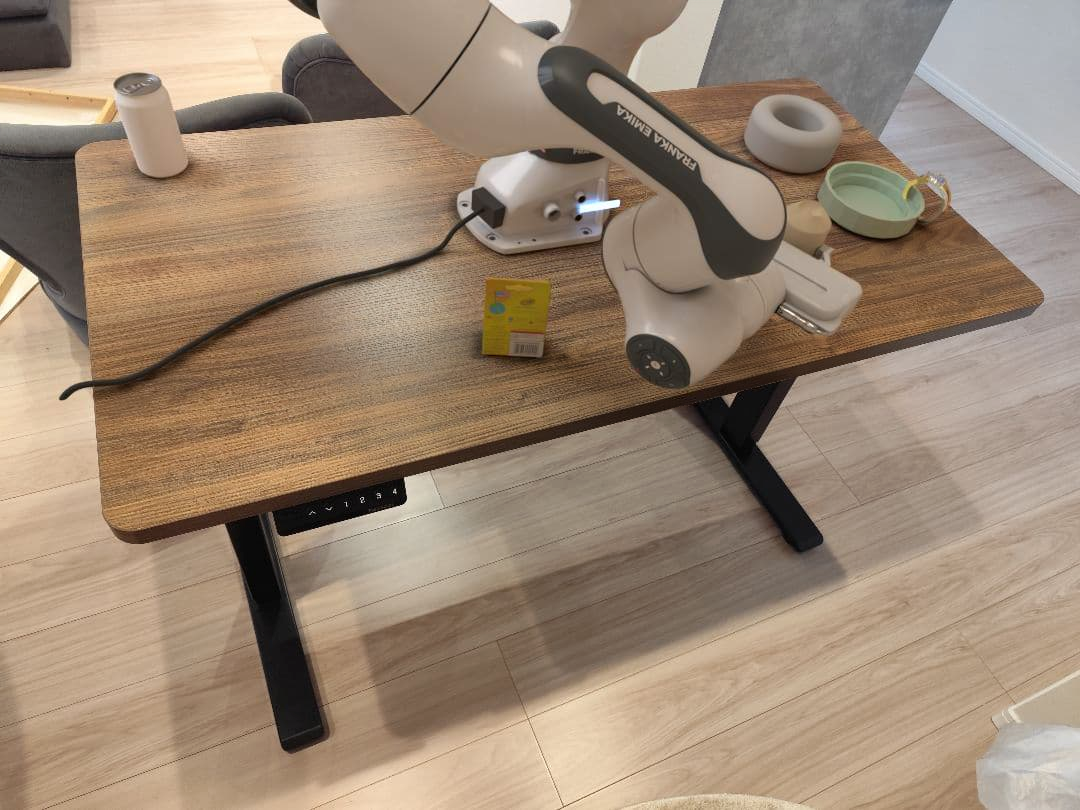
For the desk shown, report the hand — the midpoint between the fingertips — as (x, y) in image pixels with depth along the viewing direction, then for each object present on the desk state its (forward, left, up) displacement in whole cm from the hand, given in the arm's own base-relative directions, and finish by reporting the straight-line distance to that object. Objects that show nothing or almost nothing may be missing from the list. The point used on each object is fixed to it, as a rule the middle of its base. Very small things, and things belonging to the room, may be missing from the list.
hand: (800, 236), depth 85 cm
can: (-59, +61, -14) cm, 86 cm away
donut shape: (+33, +30, -14) cm, 47 cm away
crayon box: (-32, +10, -14) cm, 36 cm away
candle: (-1, 0, -6) cm, 6 cm away
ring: (+39, +7, -14) cm, 42 cm away
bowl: (+33, +12, -14) cm, 38 cm away
